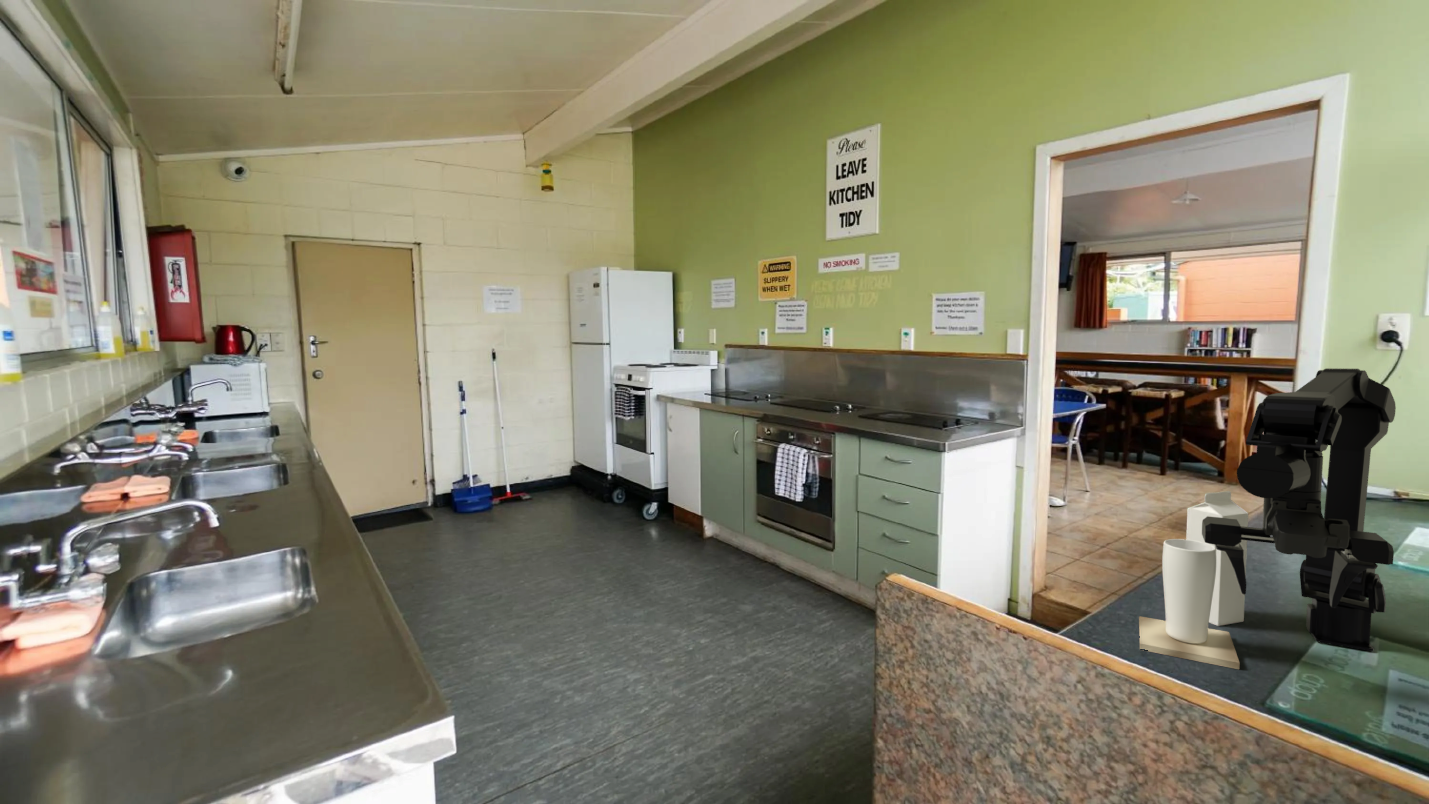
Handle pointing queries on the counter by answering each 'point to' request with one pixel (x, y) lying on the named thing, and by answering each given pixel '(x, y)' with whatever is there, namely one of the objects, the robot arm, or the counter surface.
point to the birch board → (1188, 644)
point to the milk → (1221, 557)
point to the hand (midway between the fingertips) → (1286, 599)
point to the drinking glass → (1188, 588)
